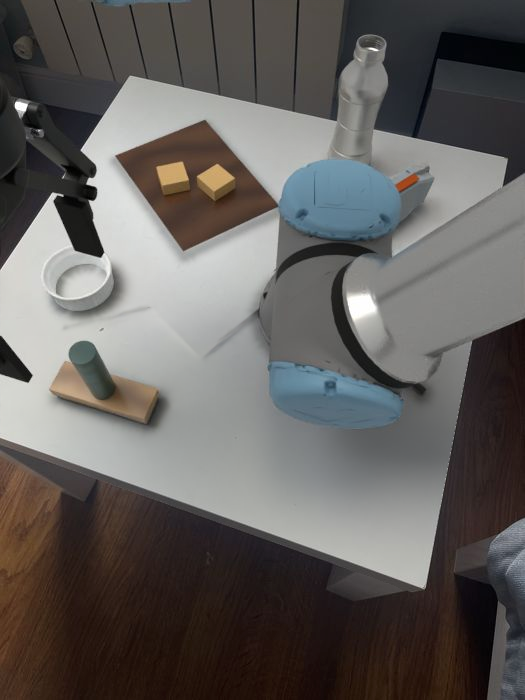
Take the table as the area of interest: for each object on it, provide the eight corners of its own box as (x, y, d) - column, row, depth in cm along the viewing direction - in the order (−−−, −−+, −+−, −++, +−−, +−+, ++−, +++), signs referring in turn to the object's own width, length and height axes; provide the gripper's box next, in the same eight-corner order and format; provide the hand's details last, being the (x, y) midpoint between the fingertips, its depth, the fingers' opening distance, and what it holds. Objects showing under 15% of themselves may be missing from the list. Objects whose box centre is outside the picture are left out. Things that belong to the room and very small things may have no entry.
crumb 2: (235, 188, 80) (235, 178, 78) (215, 201, 79) (214, 191, 77) (218, 173, 81) (217, 163, 80) (197, 186, 80) (196, 176, 78)
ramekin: (51, 323, 70) (40, 304, 66) (50, 268, 74) (40, 248, 70) (120, 312, 71) (113, 293, 67) (116, 259, 75) (109, 239, 71)
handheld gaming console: (412, 195, 82) (427, 153, 75) (426, 207, 80) (443, 165, 73) (341, 239, 77) (350, 199, 70) (355, 252, 76) (366, 213, 69)
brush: (148, 426, 63) (128, 385, 53) (55, 398, 65) (19, 352, 54) (161, 397, 65) (144, 351, 55) (70, 369, 66) (38, 320, 56)
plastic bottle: (373, 179, 83) (406, 55, 65) (332, 186, 82) (354, 62, 65) (360, 150, 86) (388, 24, 68) (320, 157, 85) (338, 31, 68)
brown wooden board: (279, 211, 80) (279, 205, 78) (184, 256, 75) (183, 251, 74) (205, 125, 88) (204, 119, 87) (116, 161, 84) (114, 155, 83)
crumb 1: (190, 190, 80) (189, 179, 78) (163, 195, 79) (161, 185, 77) (184, 171, 81) (182, 161, 80) (158, 176, 81) (156, 166, 79)
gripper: (-8, -35, 35) (80, 199, 54) (-309, 249, 24) (-64, 422, 42) (97, -13, 34) (150, 218, 53) (-163, 294, 23) (22, 451, 41)
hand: (55, 309), depth 48 cm, fingers open, 13 cm apart
